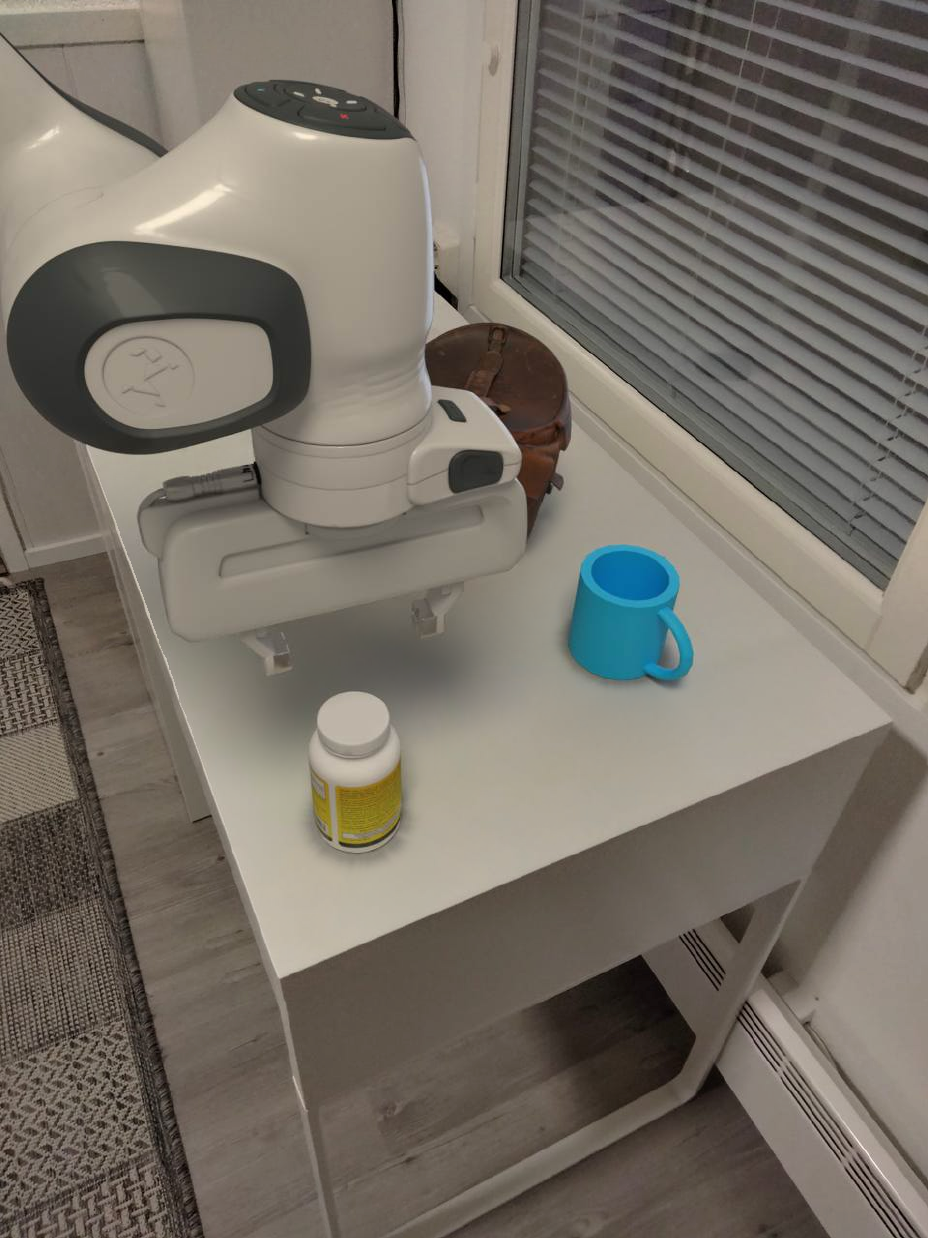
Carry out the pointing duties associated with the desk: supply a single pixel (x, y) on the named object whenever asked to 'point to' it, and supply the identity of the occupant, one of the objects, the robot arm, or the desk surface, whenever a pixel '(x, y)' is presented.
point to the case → (511, 395)
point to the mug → (627, 614)
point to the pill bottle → (355, 773)
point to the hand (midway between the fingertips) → (354, 647)
